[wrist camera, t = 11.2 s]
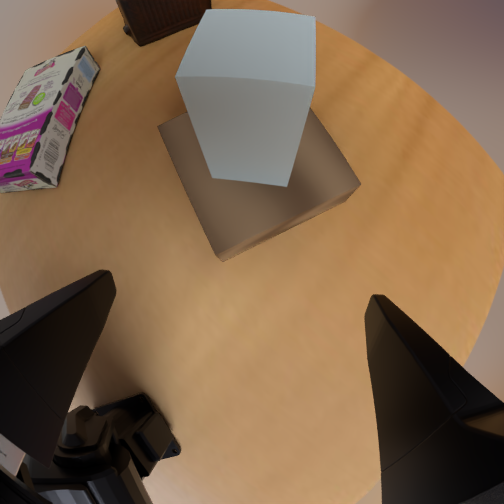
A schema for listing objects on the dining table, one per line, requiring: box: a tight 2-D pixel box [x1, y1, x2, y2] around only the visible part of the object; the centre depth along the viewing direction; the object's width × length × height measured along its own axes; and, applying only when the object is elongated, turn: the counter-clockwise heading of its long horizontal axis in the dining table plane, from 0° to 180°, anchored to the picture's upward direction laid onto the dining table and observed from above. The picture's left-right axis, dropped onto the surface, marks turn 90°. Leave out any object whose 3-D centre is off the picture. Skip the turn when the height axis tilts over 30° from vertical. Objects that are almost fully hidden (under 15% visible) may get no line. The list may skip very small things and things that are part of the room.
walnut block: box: [157, 108, 361, 262], centre depth 21 cm, size 11×11×4 cm
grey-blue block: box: [175, 9, 316, 187], centre depth 14 cm, size 5×5×10 cm
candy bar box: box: [0, 46, 100, 193], centre depth 22 cm, size 11×5×16 cm
